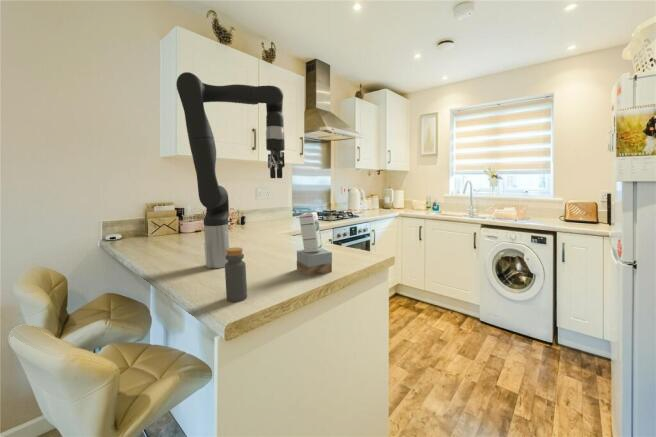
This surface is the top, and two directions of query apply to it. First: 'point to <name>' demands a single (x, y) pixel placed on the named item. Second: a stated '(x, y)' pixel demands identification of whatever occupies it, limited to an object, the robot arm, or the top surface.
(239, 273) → the bottle
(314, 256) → the tower top block
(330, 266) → the tower base block
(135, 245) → the top surface
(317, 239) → the syrup box
